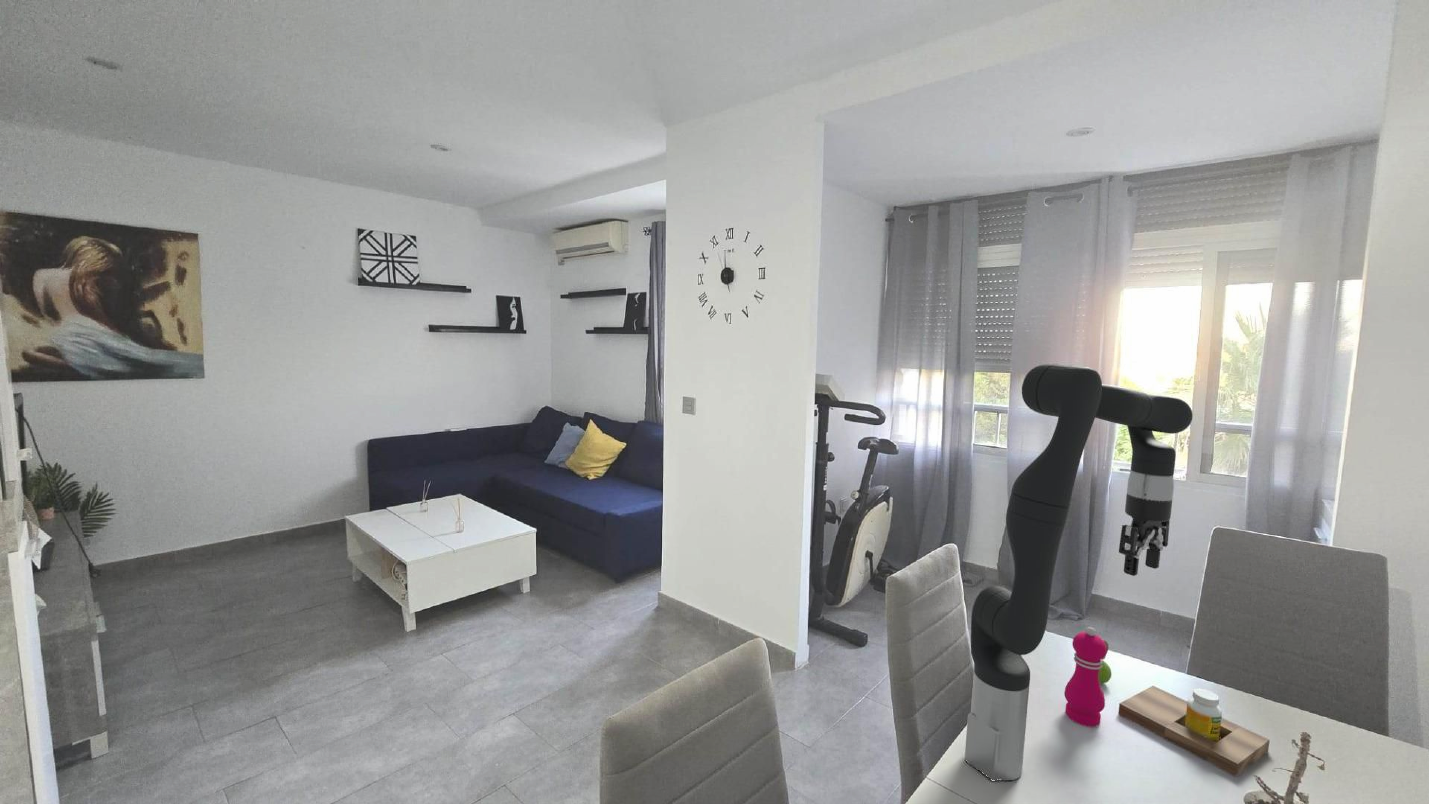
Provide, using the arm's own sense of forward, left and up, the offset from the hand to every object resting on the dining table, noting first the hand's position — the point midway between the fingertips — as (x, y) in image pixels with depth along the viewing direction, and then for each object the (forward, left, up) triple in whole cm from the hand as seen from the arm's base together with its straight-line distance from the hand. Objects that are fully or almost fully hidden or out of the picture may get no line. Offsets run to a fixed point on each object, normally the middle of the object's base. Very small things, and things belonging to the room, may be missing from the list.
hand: (1141, 570), depth 121 cm
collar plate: (+6, -9, -32) cm, 34 cm away
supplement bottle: (+6, -11, -32) cm, 35 cm away
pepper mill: (-9, +4, -32) cm, 34 cm away
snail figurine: (+7, +10, -32) cm, 35 cm away
